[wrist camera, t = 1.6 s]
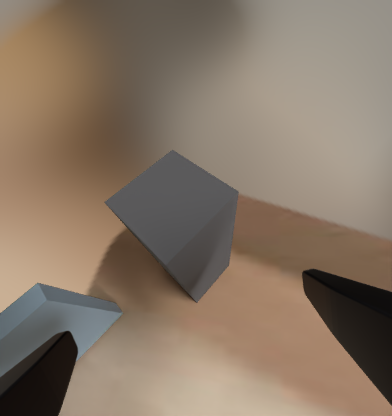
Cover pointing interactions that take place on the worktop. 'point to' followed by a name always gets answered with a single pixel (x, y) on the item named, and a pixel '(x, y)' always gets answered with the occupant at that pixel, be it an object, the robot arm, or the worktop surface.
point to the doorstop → (181, 220)
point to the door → (51, 321)
